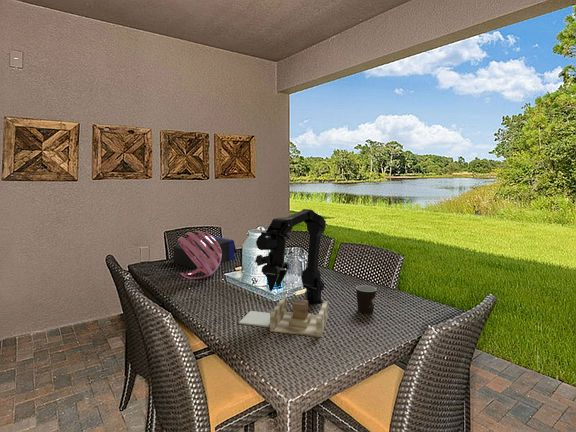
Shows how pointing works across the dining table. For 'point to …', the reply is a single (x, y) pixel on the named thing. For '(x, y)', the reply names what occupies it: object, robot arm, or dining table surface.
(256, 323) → the grey mat
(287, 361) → the dining table surface
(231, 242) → the headphone box
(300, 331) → the slot box
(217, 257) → the spiral basket
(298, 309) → the walnut block
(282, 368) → the dining table surface
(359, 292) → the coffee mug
